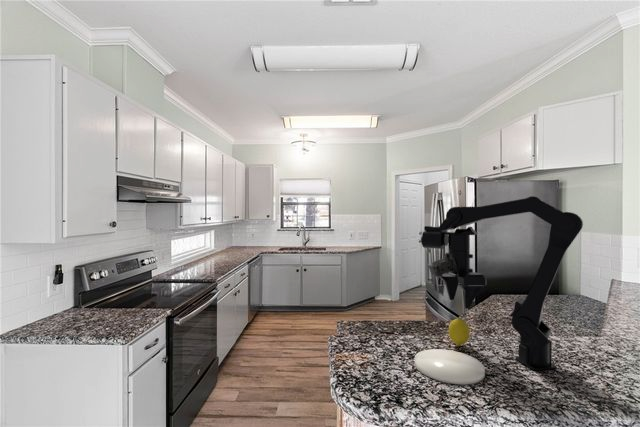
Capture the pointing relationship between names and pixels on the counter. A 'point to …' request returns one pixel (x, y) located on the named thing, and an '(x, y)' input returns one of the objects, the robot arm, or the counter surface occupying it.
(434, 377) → the plate
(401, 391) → the counter surface
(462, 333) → the lemon
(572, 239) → the robot arm
